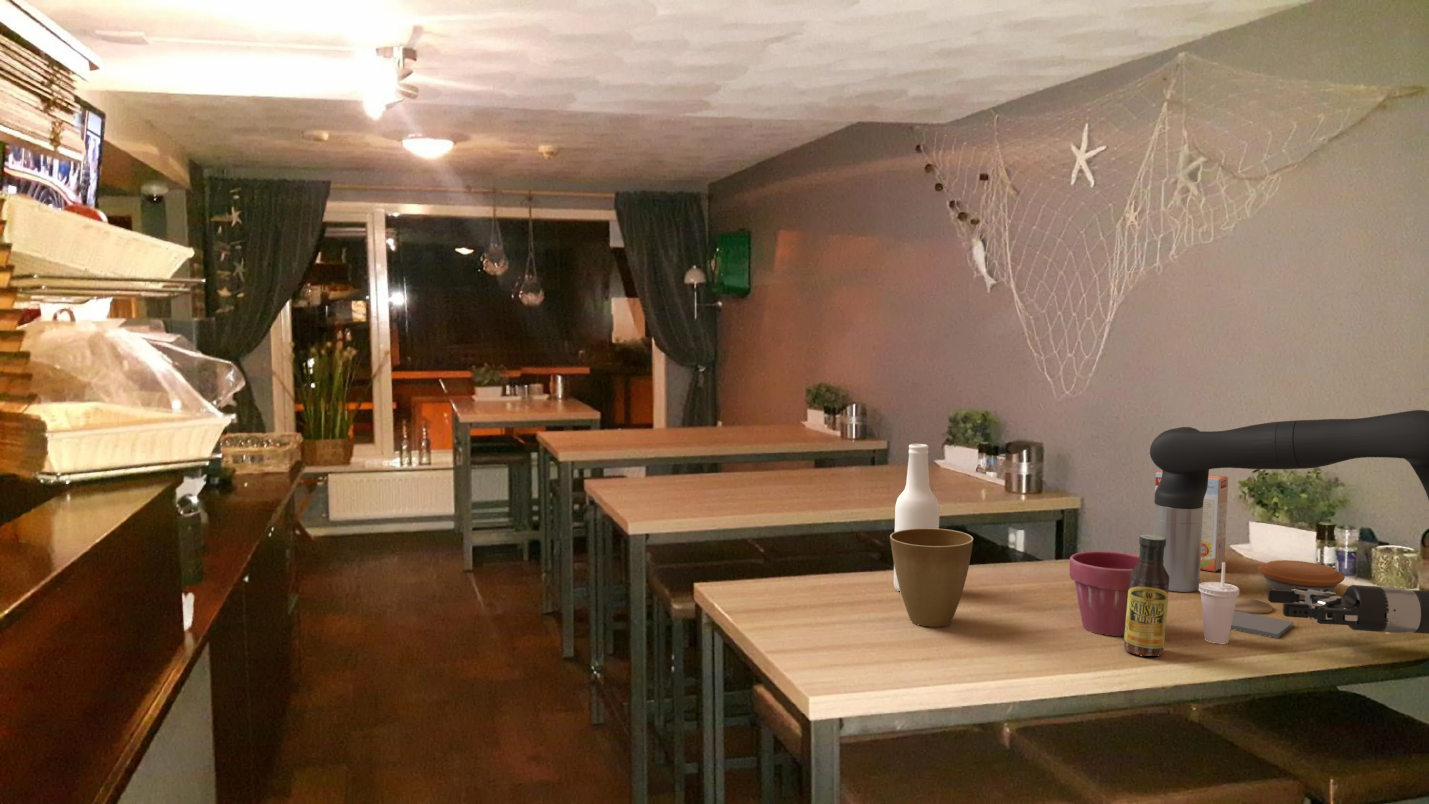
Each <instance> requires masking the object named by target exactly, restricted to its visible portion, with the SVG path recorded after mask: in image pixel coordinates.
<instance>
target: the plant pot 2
mask: <svg viewBox="0 0 1429 804" xmlns="http://www.w3.org/2000/svg"><path fill="white" fill-rule="evenodd" d="M1139 556H1140V555H1139V554H1138V555H1137V554H1132V553H1126V552H1120V551H1119V552H1118V551H1108V550H1107V551H1106V550H1105V551H1104V550H1102V551H1101V550H1099V551H1098V550H1097V551H1096V550H1093V551H1091V550H1090V551H1082V552H1077V553H1074V554H1072V555H1071V556H1070V557H1069V571H1068V572H1069V577H1070V579H1071V580H1072V581H1074V586H1075V587H1074V588H1075V591H1076V598H1077V603H1078V608H1079V613H1080V617H1081V623H1082V627H1083V628H1084V629H1085V630H1086V629H1087V631H1088V630H1089V632H1091V633H1094V632H1095V633H1094V634H1097V633H1098V635H1102V634H1106V635H1105V636H1109V635H1124V634H1125V623H1126V611H1127V599H1128V589H1129V584H1130V573H1131V571H1132V570H1133V568H1134V567H1135V565H1136V564H1137V562H1138V561H1139Z"/></svg>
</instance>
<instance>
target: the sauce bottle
mask: <svg viewBox="0 0 1429 804" xmlns="http://www.w3.org/2000/svg"><path fill="white" fill-rule="evenodd" d="M1138 540H1139V541H1138V543H1139V555H1138V556H1139V561H1138V562H1137V564H1136V565H1135V567H1134V568H1133V570H1132V571H1131V573H1130V584H1129V589H1128V599H1127V611H1126V623H1125V634H1124V636H1123V639H1124V650H1125V651H1126V652H1127V653H1129V652H1130V654H1131V653H1132V655H1134V654H1136V655H1135V656H1138V655H1142V656H1141V657H1143V656H1158V655H1159V656H1161V655H1162V654H1163V651H1164V648H1165V647H1164V646H1165V635H1166V627H1167V617H1168V606H1169V605H1168V603H1169V590H1168V587H1169V575H1168V573H1167V572H1166V570H1165V568H1164V566H1163V563H1164V560H1163V556H1164V548H1165V546H1166V538H1164V537H1161V536H1157V535H1153V534H1141V535H1139V539H1138ZM1159 656H1158V657H1159Z"/></svg>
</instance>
